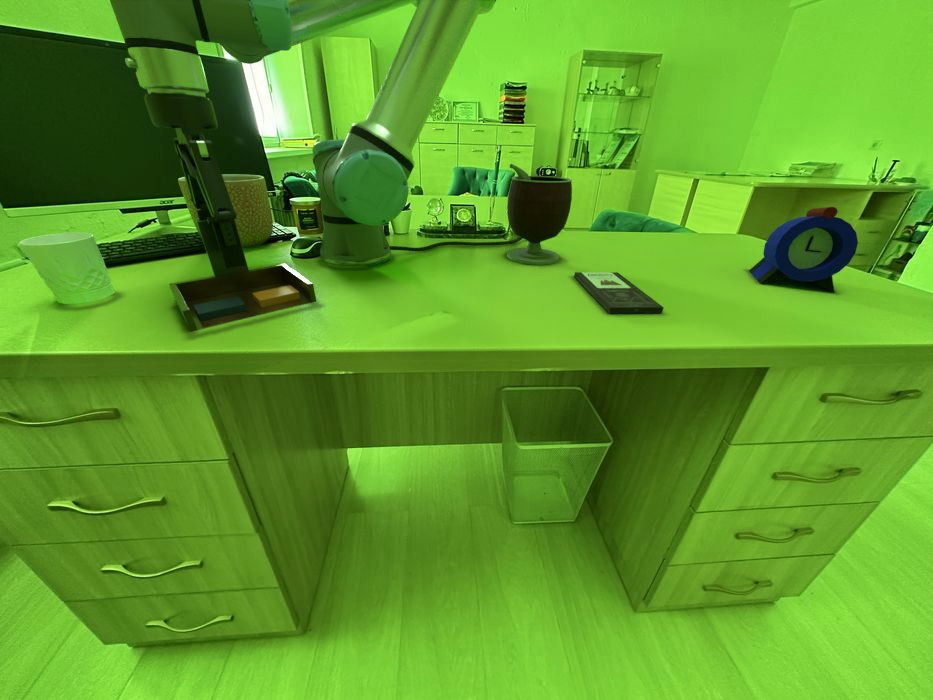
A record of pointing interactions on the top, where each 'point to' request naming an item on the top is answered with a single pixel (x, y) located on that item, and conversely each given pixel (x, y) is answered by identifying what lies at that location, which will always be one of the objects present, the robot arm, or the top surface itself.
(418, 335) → the top surface
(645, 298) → the chocolate bar
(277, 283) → the dustpan
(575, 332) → the top surface
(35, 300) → the top surface
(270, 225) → the planter
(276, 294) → the block
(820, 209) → the alarm clock
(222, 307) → the block
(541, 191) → the mate gourd
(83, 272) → the white cup
